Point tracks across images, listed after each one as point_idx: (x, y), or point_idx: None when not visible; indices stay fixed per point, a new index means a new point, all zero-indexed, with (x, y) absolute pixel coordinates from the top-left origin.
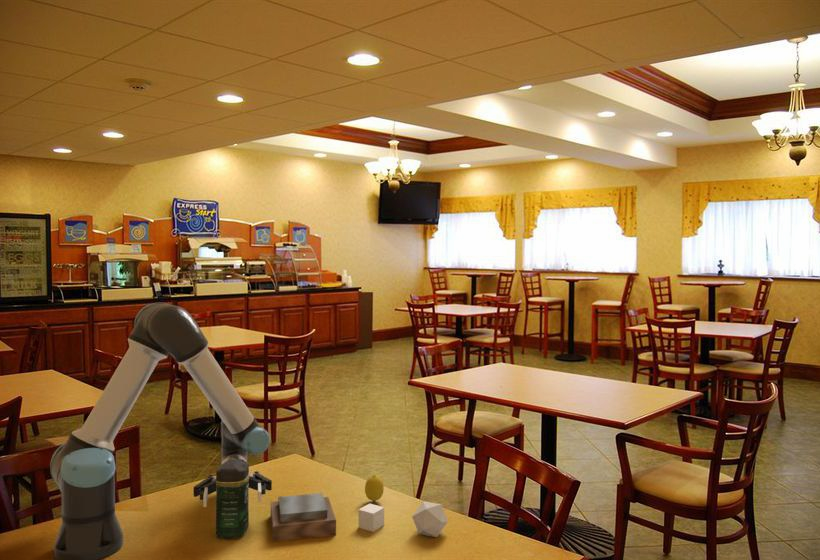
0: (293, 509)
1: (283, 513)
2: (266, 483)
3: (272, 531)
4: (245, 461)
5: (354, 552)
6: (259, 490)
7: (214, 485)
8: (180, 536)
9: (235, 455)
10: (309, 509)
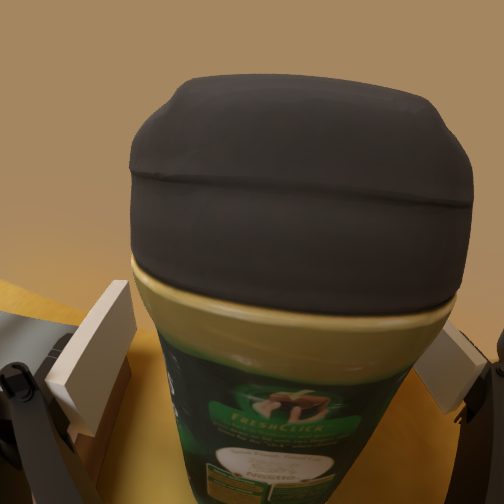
0: (29, 340)
1: (70, 329)
2: (6, 403)
3: (114, 408)
4: (160, 109)
5: (31, 294)
6: (116, 289)
7: (480, 457)
8: (436, 438)
9: None
10: (2, 322)
